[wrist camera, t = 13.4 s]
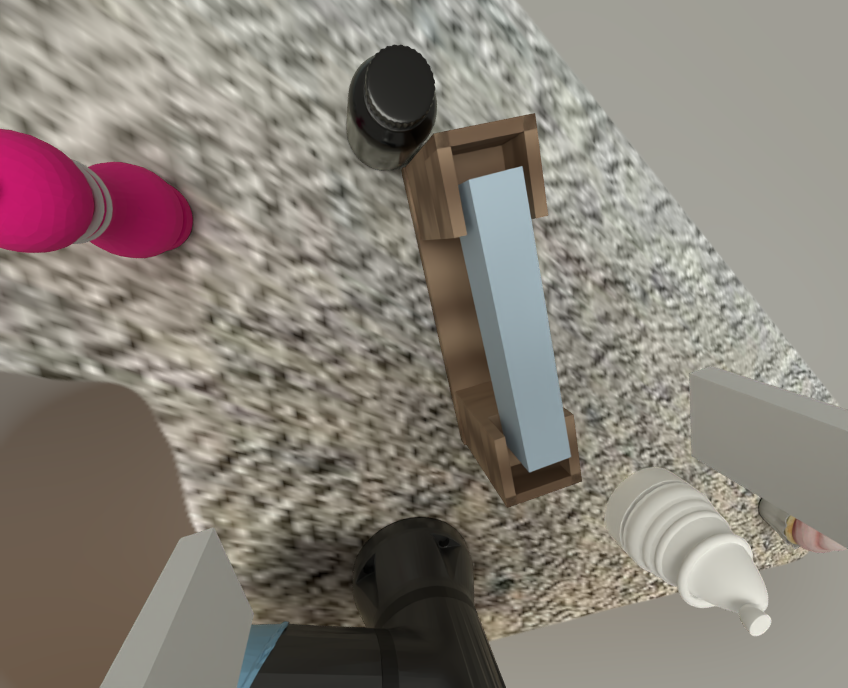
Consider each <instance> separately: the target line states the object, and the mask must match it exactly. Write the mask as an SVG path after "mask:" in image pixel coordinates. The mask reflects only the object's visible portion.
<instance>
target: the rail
mask: <svg viewBox="0 0 848 688" xmlns="http://www.w3.org/2000/svg"><path fill="white" fill-rule="evenodd" d="M458 188H459V194H460V199H461V204H462V210H463V215H464V220H465V226H466V231H467V235H465V236H461V237H460V241H461V246H462V250H463V255H464V259H465V264H466V268H467V273H468V277H469V282H470V286H471V291H472V295H473V300H474V304H475V309H476V313H477V318H478V322H479V327H480V331H481V336H482V340H483V345H484V349H485V354H486V358H487V363H488V367H489V372H490V376H491V381H492V385H493V390H494V394H495V399H496V403H497V408H498V412H499V417H500V421H501V426H502V430H503V435H504V436H505V440H506V445H507V447H508V448H509V449H510V450H511V451H512V453H513V454H514V455H515V456H516V457H517V459H518V460H519V461H520V462H521V463H522V465H523V466H524V467H525V468H526V469H527V470H528V472H532V471H535V470H537V469H540V468H543V467H545V466H548V465H551V464H554V463H556V462H559V461H562V460H564V459H567V458H570V457H571V453H570V447H569V442H568V436H567V430H566V424H565V418H564V412H563V406H562V400H561V394H560V388H559V382H558V376H557V370H556V364H555V358H554V352H553V346H552V340H551V334H550V328H549V322H548V316H547V310H546V305H545V299H544V293H543V287H542V281H541V275H540V269H539V263H538V257H537V251H536V245H535V239H534V233H533V227H532V221H531V215H530V209H529V203H528V197H527V191H526V185H525V179H524V173H523V168H522V166H521V167H517V168H513V169H509V170H505V171H501V172H497V173H493V174H489V175H486V176H482V177H478V178H474V179H470V180H467V181H465V182H463V183H462V184H460V185H458Z"/></svg>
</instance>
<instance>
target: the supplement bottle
mask: <svg viewBox="0 0 848 688" xmlns="http://www.w3.org/2000/svg"><path fill="white" fill-rule="evenodd" d="M434 84H435V80H434V78H433V73H432V71H431V69H430V66H429V65H428V64H427V61H426V59H424V58H423V57H422V55H421V54H420V53H418V52H417V51H416V50H415V49H411V48H410V47H408V46H406V47H405V46H403V45H399V46H397V45H392V46H387V47H386V48H385V49H381V50H380V52H379V53H376V54H375V55H374V56H372V57H370V58H368V59H367V60H366V61H364V62H363V63H362V64H361V65H360V67H359V68H358V69H357V71H356V72H355V74H354V76H353V78H352V81H351V84H350V88H349V93H348V106H347V121H346V130H347V137H348V141H349V144H350V146H351V148H352V150H353V152H354V153H355V155H356V156H357V157H358V158H359V159H360V160H361V161H362V162H363V163H364V164H366V165H367V166H369V167H371V168H374V169H377V170H393V169H396V168H398V167H400V166H402V165H403V164H405V163H406V162H407V161H408V160H409V159H410V158H411V157H412V156H413V154H414V153H415V152H416V151H417V150H418V148H419V147H420V146H421V145H422V143H423V142H424V141H425V140H426V138H427V137H428V136H429V134H430V132H431V130H432V128H433V126H434V123H435V119H436V114H437V98H436V93H435V86H434Z"/></svg>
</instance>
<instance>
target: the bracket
mask: <svg viewBox="0 0 848 688" xmlns="http://www.w3.org/2000/svg"><path fill="white" fill-rule="evenodd" d="M521 166H522V168H523V173H524V179H525V185H526V191H527V197H528V203H529V209H530V215H531V219H535V218H539V217H543V216H548V211H547V203H546V195H545V187H544V179H543V171H542V164H541V156H540V148H539V140H538V132H537V124H536V116H535V113H534V114H529V115H524V116H519V117H514V118H509V119H504V120H499V121H494V122H489V123H484V124H479V125H474V126H469V127H464V128H459V129H454V130H449V131H444V132H439V133H434V134H433V135H432V136H431V138H430V139H429V140H428V141H427V142H426V143H425V145H424V146H423V147H422V148H421V149H420V151H419V152H418V153H417V154H416V155H415V156H414V158H413V159H412V160H411V161H410V162H409V164H408V165H407V166H406V167H403V168H402V169H401V172H402V176H403V181H404V185H405V190H406V194H407V198H408V203H409V207H410V212H411V216H412V221H413V225H414V230H415V234H416V239H417V243H418V248H419V252H420V257H421V261H422V266H423V270H424V275H425V279H426V284H427V288H428V293H429V297H430V301H431V306H432V310H433V315H434V319H435V324H436V328H437V333H438V337H439V342H440V346H441V351H442V355H443V360H444V364H445V369H446V373H447V378H448V382H449V387H450V391H451V396H452V400H453V404H454V409H455V413H456V418H457V422H458V427H459V431H460V436H461V440H462V442H463V444H464V445H467V446H468V448H469V449H470V451H471V452H472V454H473V455H474V457H475V459H476V460H477V462H478V463H479V465H480V466H481V468H482V469H483V471H484V472H485V474H486V476H487V477H488V479H489V480H490V482H491V483H492V485H493V486H494V488H495V490H496V491H497V493H498V494H499V496H500V497H501V499H502V500H503V502H504V503H505V505H506V507H507V508H508V507H511V506H514V505H517V504H519V503H522V502H525V501H528V500H531V499H534V498H536V497H539V496H542V495H545V494H548V493H551V492H553V491H556V490H559V489H562V488H565V487H567V486H570V485H573V484H576V483H579V482H582V477H581V469H580V461H579V454H578V446H577V438H576V430H575V422H574V415H573V414H572V413H571V412H569V411H568V410H566V409H565V408H564V407H563V412H564V418H565V424H566V430H567V436H568V442H569V447H570V453H571V457H570V458H567V459H564V460H562V461H559V462H556V463H554V464H551V465H548V466H545V467H543V468H540V469H537V470H535V471H532V472H528V470H527V469H526V468H525V467H524V466H523V465H522V463H521V462H520V461H519V460H518V459H517V457H516V456H515V455H514V454H513V453H512V451H511V450H510V449H509V448H508V447H507V445H506V440H505V436H504V435H503V430H502V426H501V421H500V417H499V412H498V408H497V403H496V399H495V394H494V390H493V385H492V381H491V376H490V372H489V367H488V363H487V358H486V354H485V349H484V345H483V340H482V336H481V331H480V327H479V322H478V318H477V313H476V309H475V304H474V300H473V295H472V291H471V286H470V282H469V277H468V273H467V268H466V264H465V259H464V255H463V250H462V246H461V241H460V237H461V236H465V235H467V231H466V226H465V220H464V215H463V210H462V204H461V199H460V194H459V188H458V185H460V184H462V183H463V182H465V181H467V180H470V179H474V178H478V177H482V176H486V175H489V174H493V173H497V172H501V171H505V170H509V169H513V168H517V167H521Z"/></svg>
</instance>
